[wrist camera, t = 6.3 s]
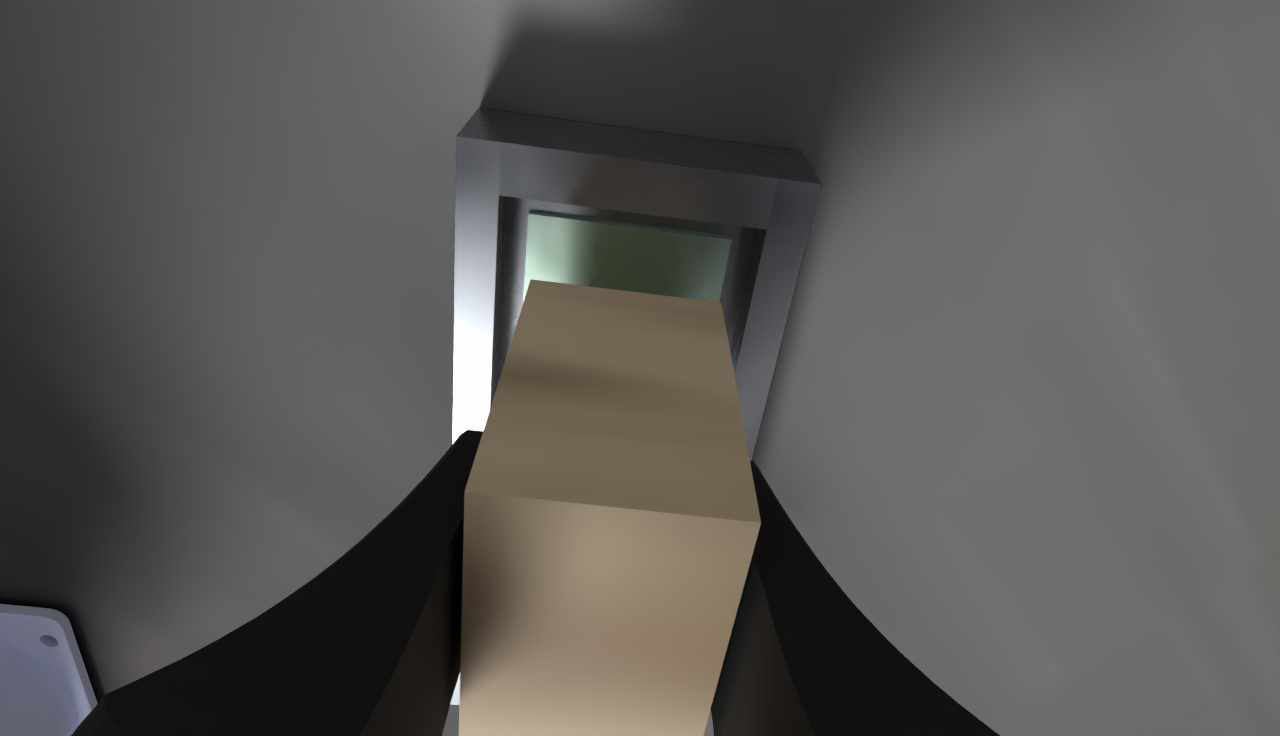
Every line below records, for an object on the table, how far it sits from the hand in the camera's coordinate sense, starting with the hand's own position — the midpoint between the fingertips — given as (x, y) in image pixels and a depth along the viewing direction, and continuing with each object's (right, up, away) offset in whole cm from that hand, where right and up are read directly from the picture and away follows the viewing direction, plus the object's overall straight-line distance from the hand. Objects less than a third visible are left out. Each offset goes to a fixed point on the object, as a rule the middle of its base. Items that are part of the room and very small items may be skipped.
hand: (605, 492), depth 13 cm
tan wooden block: (0, +1, +2) cm, 3 cm away
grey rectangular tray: (0, 0, +7) cm, 7 cm away
